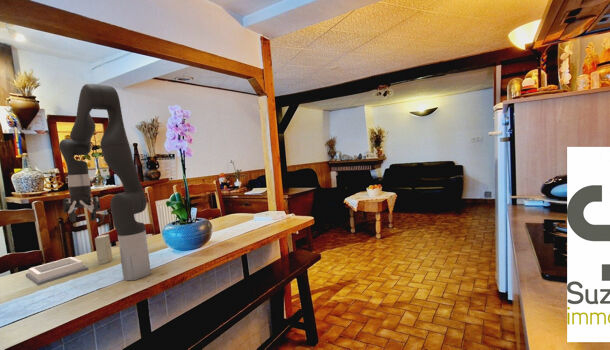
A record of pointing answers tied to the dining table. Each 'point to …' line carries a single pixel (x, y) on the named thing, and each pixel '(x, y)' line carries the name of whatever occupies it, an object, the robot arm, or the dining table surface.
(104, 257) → the skincare box
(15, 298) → the dining table surface
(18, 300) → the dining table surface
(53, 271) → the pocket board
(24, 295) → the dining table surface
